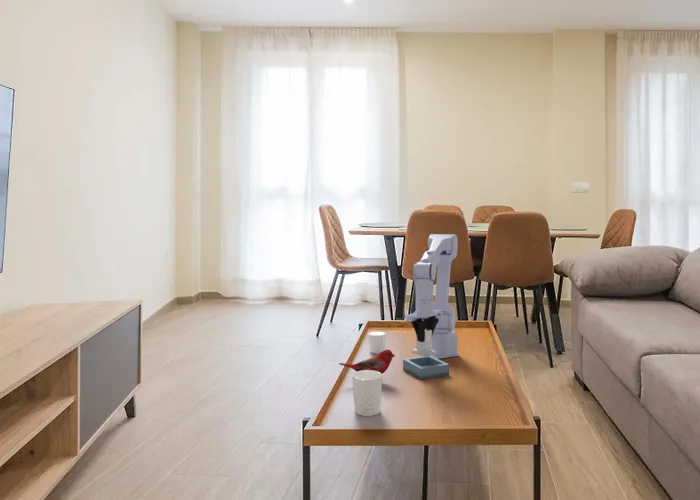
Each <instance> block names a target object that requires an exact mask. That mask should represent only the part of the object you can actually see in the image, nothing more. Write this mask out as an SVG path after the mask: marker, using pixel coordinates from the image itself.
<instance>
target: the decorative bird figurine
mask: <svg viewBox="0 0 700 500" xmlns="http://www.w3.org/2000/svg"><path fill="white" fill-rule="evenodd" d="M394 357H397V356H396V355H395V354H393V352H392V350H391V349H388V348H386V349H385V350H384V351H382V352H381V353H378V354H377V355H376V356H373V357H371V358H367V359H363V360H362V361H359V362H357V363H355V364H352V363H342V362H339V363H338V365H340V366H343V367H347V368H350V369H352V370H353V371H355V372H357V371H362V370H373V371H377V372H380V373H381V374H382V375H383V374H384V373H385V372H386V371H387V370H388V369H389V366H390V364H391V362H392V360H393V358H394Z"/></svg>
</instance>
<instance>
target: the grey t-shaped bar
mask: <svg viewBox="0 0 700 500" xmlns="http://www.w3.org/2000/svg"><path fill="white" fill-rule="evenodd" d="M415 337H416V339H415V340H416V341H415V343H416V346H415V347H416V348H413V349H411V353H413V354H415V355H418V356H420V357H421V356H423V357H427V356H431V355H435V354H436V351H434V350H432V330H430V329H427V328H425V331H424V342H419V341H418V339H417V335H416V336H415Z"/></svg>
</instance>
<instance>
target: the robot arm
mask: <svg viewBox="0 0 700 500" xmlns="http://www.w3.org/2000/svg"><path fill="white" fill-rule="evenodd" d="M458 243H459V241H458V236H457V235H456V234H455V233H453V234H452V233H451V234H450V233H449V234H445V233H444V234H441V233H440V234H435V233H431V234H430V235H429V236H428V239H427V247H428V250H426V251H424V253H423V254H422V257H421V259H420V261H417V262H416V263H414V264H413V267H412V277H413V284H414V286H415V311H413V312H412V313H409V314H406V315H405V322H408V323H410V324H411V326H412V327H413V329H414V332H415V334H416V335H417V339H418V341H419V342H424V331H425V328H427V329H430V330H432V350H434V351H436V354H435V355H431V356H433V357H435V358H437V359H439V360H441V359H446V358H452V357H453V358H454V357H458V356H460V353H459V340H458V339H459V338H458V333H457V332H456V331H455V327H456V312H455V310H454V308H453V307H452V306H450V305H449V294H450V280H451V279H450V278H451V269H452V268H451V267H452V262H453V260H454V259H456V258H457V255H458V249H459V248H458V245H459V244H458ZM435 279H436V283H435V284H436V285H435V294H434V281H435ZM434 295H435V296H434ZM434 297H435V299H434Z"/></svg>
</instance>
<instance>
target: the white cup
mask: <svg viewBox="0 0 700 500" xmlns="http://www.w3.org/2000/svg"><path fill="white" fill-rule="evenodd" d="M351 380H352V392H353V393H352V395H353V402H354V403H353V404H354V412H355V414H357V415H358V416H361V415H362V417H373V415H374V416H376V415H378V414H380V412H381V404H382V403H381V401H382V387H383V385H382V384H383V383H382V382H383V374H381V373H380V372H377V371H373V370H362V371H357V372H356V371H355V372H353V373H352V375H351Z"/></svg>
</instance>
